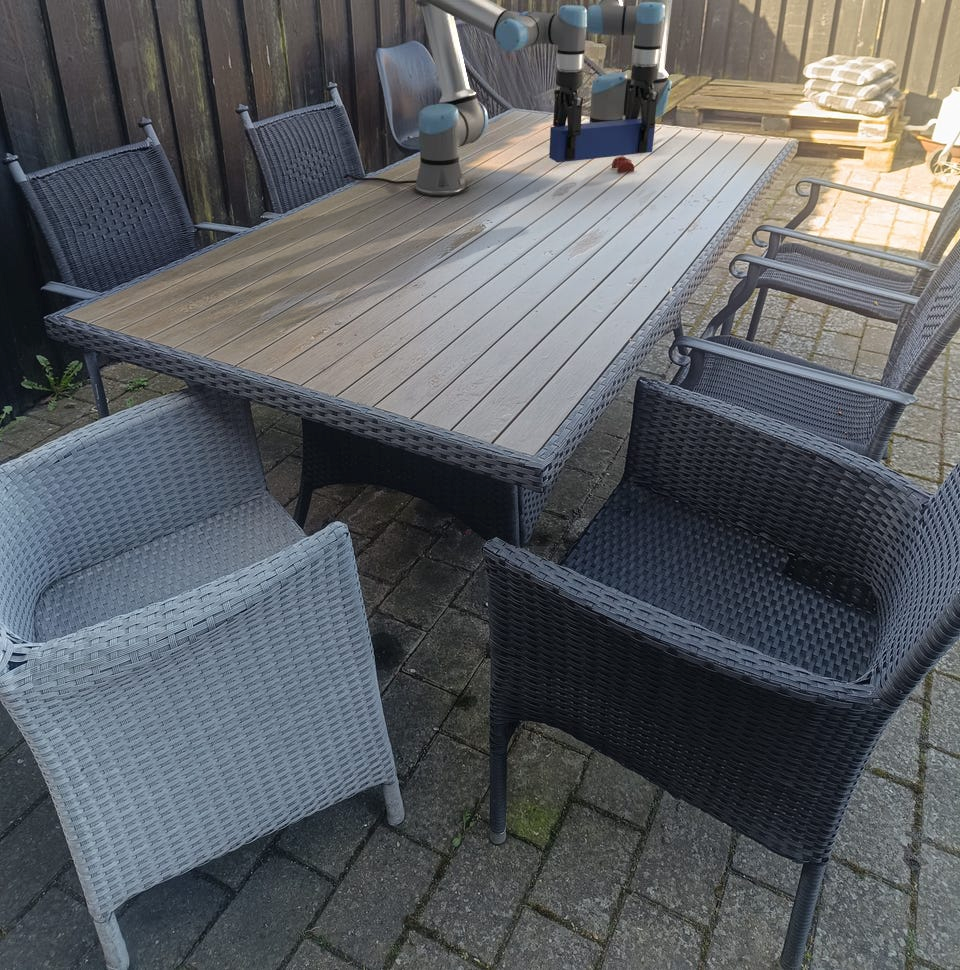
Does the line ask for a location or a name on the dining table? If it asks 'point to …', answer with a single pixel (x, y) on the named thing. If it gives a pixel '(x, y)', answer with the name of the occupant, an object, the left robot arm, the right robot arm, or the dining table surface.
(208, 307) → the dining table surface
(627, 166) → the red lumpy piece
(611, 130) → the bar
